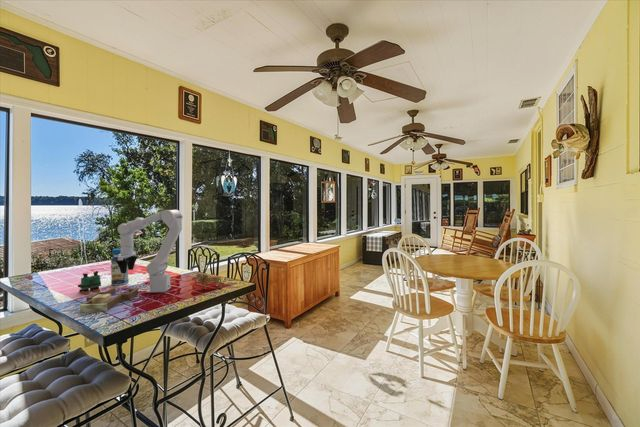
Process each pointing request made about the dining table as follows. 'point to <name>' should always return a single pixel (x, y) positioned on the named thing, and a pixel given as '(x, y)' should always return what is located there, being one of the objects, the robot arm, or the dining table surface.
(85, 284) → the green toy train
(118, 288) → the dining table surface
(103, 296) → the beech block
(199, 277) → the lion figurine
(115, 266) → the beverage bottle
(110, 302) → the trap lane
